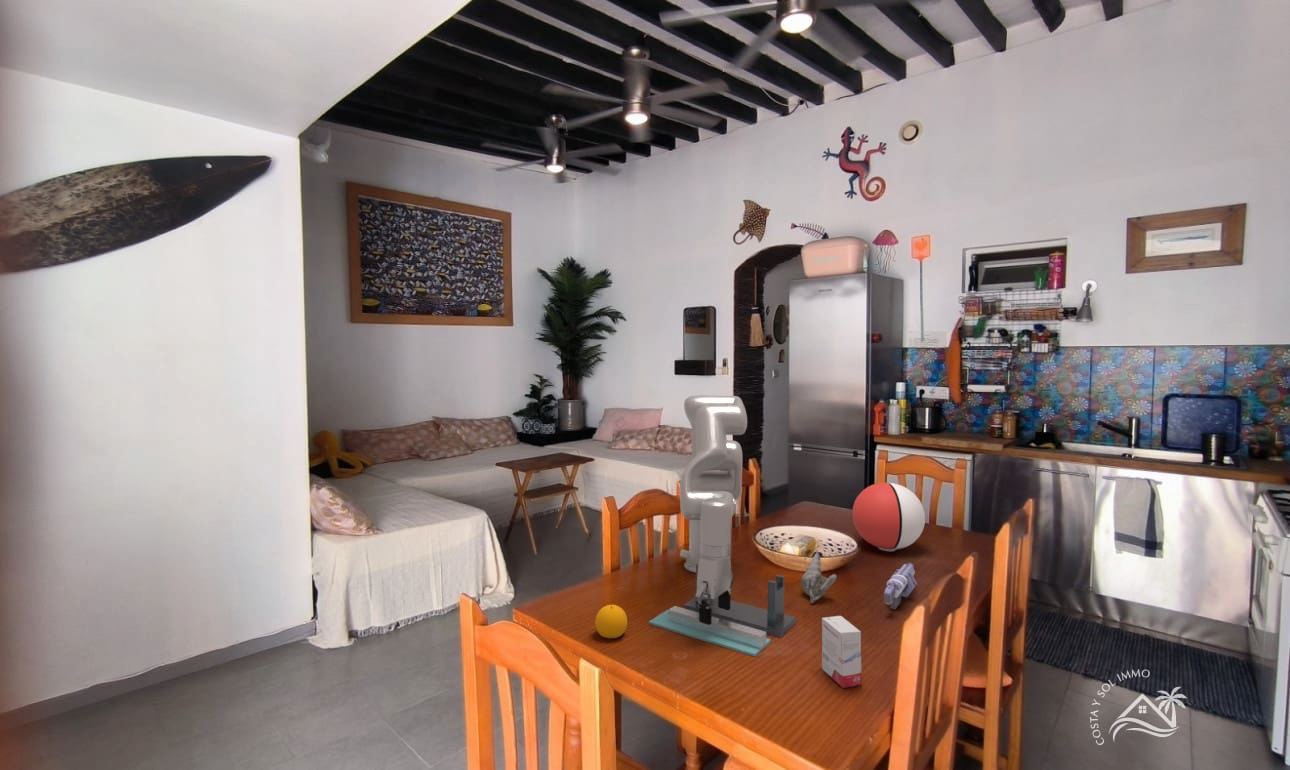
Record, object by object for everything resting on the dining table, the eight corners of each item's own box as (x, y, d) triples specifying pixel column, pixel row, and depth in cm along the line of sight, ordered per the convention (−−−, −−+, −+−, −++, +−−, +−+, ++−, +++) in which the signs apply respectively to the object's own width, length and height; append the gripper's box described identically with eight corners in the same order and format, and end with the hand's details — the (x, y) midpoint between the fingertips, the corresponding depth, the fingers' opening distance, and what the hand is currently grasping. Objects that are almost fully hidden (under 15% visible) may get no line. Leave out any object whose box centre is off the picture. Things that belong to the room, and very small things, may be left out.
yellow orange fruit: (622, 626, 160) (622, 597, 160) (631, 639, 153) (631, 610, 153) (592, 630, 158) (591, 601, 158) (599, 644, 151) (599, 614, 150)
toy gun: (923, 588, 186) (923, 561, 186) (901, 622, 163) (901, 591, 163) (897, 582, 190) (898, 557, 190) (872, 615, 167) (873, 585, 167)
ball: (907, 539, 234) (935, 560, 210) (843, 538, 234) (864, 559, 211) (909, 476, 232) (937, 490, 209) (844, 476, 233) (865, 490, 209)
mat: (648, 623, 162) (648, 621, 162) (667, 611, 169) (667, 609, 169) (755, 656, 145) (755, 654, 145) (771, 641, 152) (771, 639, 152)
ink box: (862, 686, 132) (863, 631, 131) (840, 689, 131) (841, 634, 130) (840, 665, 141) (841, 614, 140) (820, 668, 139) (821, 616, 139)
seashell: (793, 601, 176) (793, 566, 176) (813, 582, 190) (813, 550, 190) (828, 609, 171) (828, 573, 170) (846, 589, 185) (846, 556, 184)
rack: (683, 610, 170) (684, 565, 170) (702, 598, 178) (702, 555, 178) (780, 637, 154) (781, 587, 153) (796, 622, 162) (796, 575, 162)
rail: (668, 621, 162) (668, 609, 162) (674, 617, 165) (674, 605, 164) (760, 649, 147) (760, 636, 147) (766, 644, 149) (766, 631, 149)
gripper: (718, 536, 164) (718, 600, 165) (684, 555, 150) (684, 625, 151) (744, 542, 159) (744, 607, 161) (711, 562, 145) (711, 633, 147)
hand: (715, 615), depth 156 cm, fingers open, 9 cm apart
